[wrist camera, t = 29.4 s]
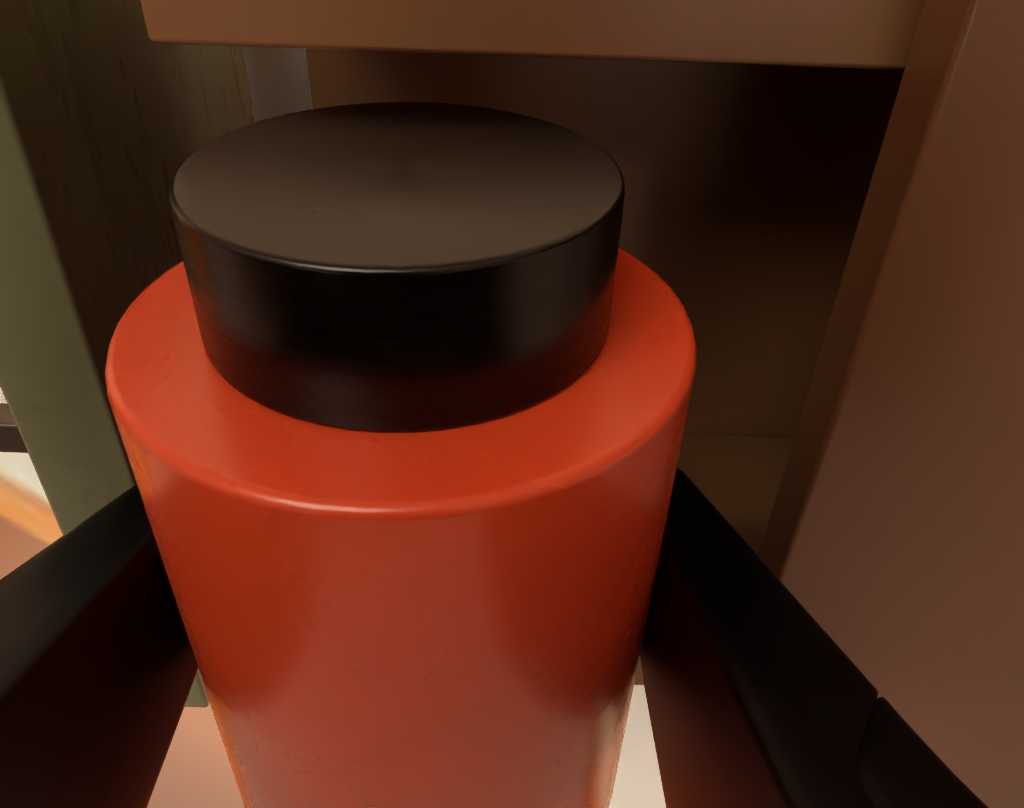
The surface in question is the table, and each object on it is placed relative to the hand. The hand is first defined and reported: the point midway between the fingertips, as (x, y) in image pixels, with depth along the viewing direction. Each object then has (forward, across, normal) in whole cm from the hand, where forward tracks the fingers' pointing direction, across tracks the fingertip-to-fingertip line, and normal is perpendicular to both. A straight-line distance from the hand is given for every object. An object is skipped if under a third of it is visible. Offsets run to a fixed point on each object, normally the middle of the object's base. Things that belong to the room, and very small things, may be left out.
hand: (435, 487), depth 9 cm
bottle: (+1, 0, 0) cm, 1 cm away
